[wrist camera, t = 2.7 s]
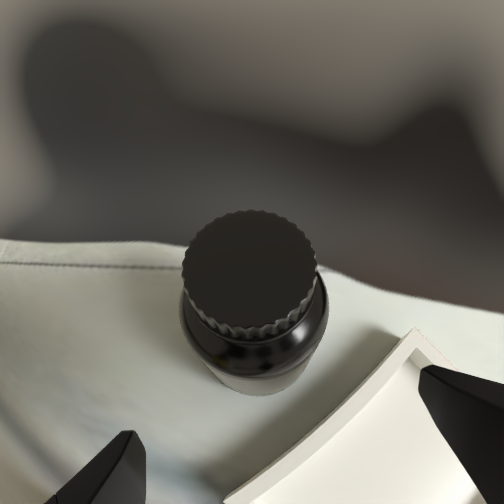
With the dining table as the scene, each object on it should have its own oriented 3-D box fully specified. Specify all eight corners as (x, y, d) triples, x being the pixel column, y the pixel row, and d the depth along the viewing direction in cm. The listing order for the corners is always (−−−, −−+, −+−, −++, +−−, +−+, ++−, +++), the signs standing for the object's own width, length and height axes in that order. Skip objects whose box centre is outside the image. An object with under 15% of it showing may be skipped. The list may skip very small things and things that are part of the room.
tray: (376, 612, 9) (386, 625, 7) (228, 494, 16) (223, 501, 14) (518, 459, 14) (537, 457, 12) (401, 338, 21) (414, 326, 19)
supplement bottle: (197, 319, 23) (142, 213, 13) (288, 291, 24) (301, 170, 13) (224, 411, 19) (175, 383, 9) (323, 378, 20) (381, 314, 10)
